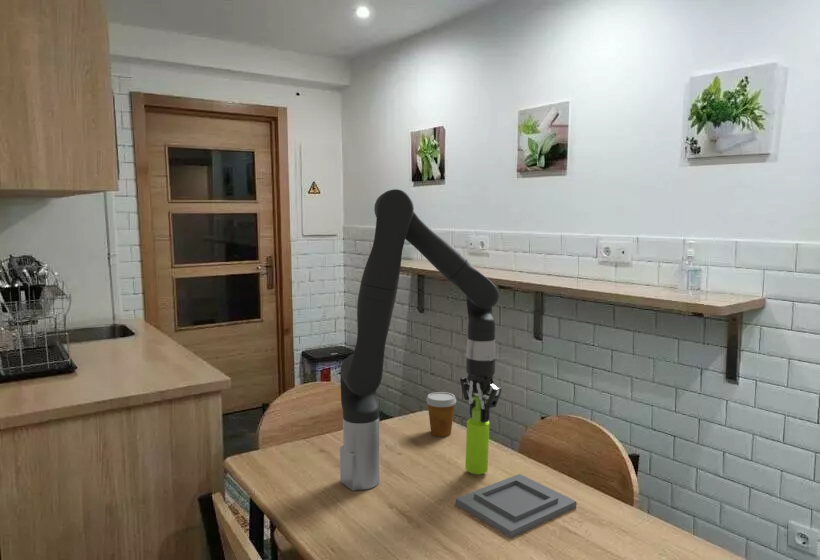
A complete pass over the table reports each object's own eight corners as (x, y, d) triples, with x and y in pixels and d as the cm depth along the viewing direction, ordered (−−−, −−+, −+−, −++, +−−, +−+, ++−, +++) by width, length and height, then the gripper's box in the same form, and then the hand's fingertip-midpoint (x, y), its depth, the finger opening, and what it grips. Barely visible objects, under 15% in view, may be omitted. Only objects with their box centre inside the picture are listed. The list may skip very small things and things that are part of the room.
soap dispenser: (490, 475, 152) (493, 401, 150) (464, 472, 153) (466, 399, 151) (492, 465, 158) (495, 394, 155) (466, 463, 159) (469, 392, 157)
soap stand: (510, 537, 125) (511, 526, 125) (455, 504, 139) (455, 494, 139) (576, 507, 138) (576, 497, 138) (519, 479, 152) (519, 470, 152)
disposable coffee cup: (460, 430, 187) (460, 393, 185) (449, 440, 178) (450, 402, 177) (432, 425, 191) (433, 390, 189) (421, 435, 182) (421, 398, 181)
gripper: (452, 352, 156) (451, 415, 158) (489, 363, 144) (487, 430, 146) (473, 348, 160) (471, 409, 162) (510, 359, 149) (508, 424, 151)
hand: (479, 419), depth 154 cm, fingers closed on soap dispenser, 3 cm apart
